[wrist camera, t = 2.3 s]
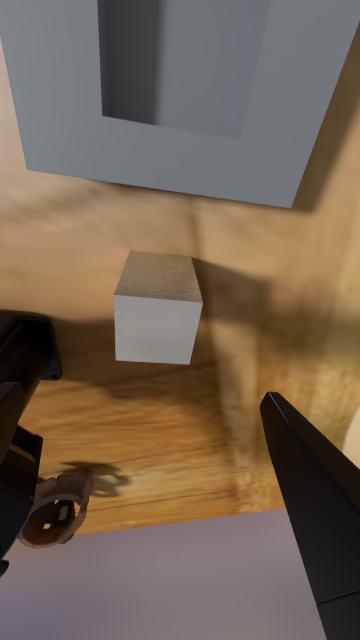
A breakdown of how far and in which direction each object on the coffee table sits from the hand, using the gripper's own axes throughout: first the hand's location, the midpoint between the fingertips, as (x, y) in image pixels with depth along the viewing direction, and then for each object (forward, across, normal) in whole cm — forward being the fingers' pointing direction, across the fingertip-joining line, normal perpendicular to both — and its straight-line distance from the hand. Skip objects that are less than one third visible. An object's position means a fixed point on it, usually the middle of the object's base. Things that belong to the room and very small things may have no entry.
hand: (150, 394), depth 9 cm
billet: (+10, 0, 0) cm, 10 cm away
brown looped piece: (+10, +11, +32) cm, 35 cm away
